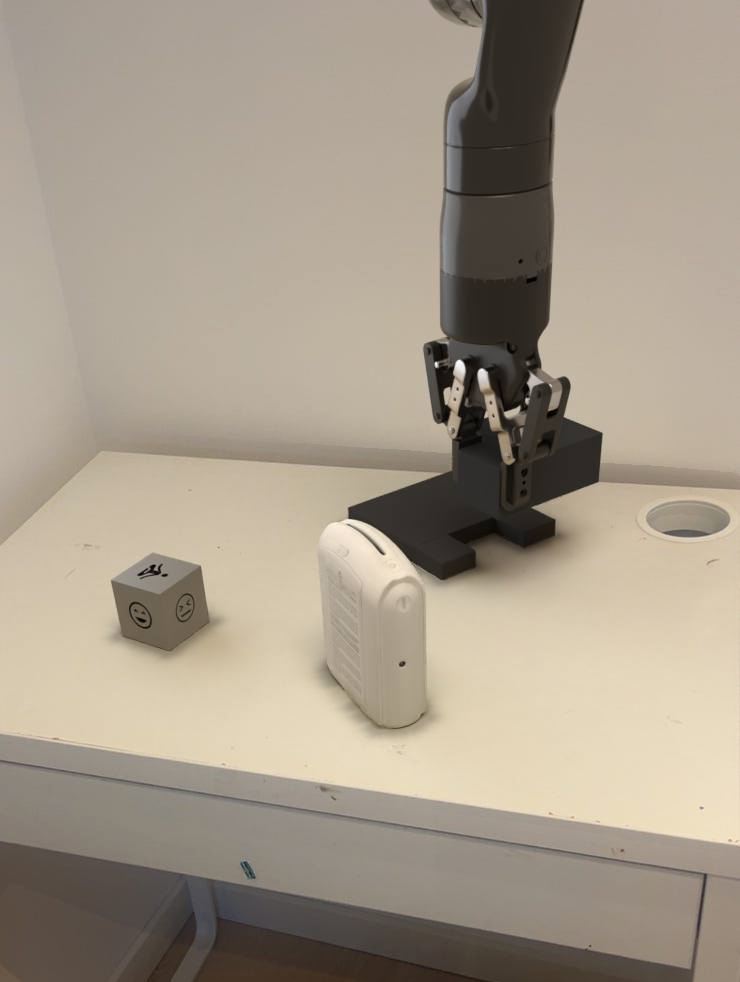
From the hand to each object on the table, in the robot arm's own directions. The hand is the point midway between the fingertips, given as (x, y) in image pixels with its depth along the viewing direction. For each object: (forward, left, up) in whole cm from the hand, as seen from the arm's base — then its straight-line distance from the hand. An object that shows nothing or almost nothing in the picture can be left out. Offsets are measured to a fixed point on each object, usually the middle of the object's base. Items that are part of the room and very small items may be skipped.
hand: (490, 493), depth 89 cm
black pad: (-4, -10, -8) cm, 14 cm away
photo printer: (+16, +7, -8) cm, 19 cm away
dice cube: (+24, -11, -8) cm, 27 cm away
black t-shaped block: (-4, -2, -1) cm, 4 cm away
